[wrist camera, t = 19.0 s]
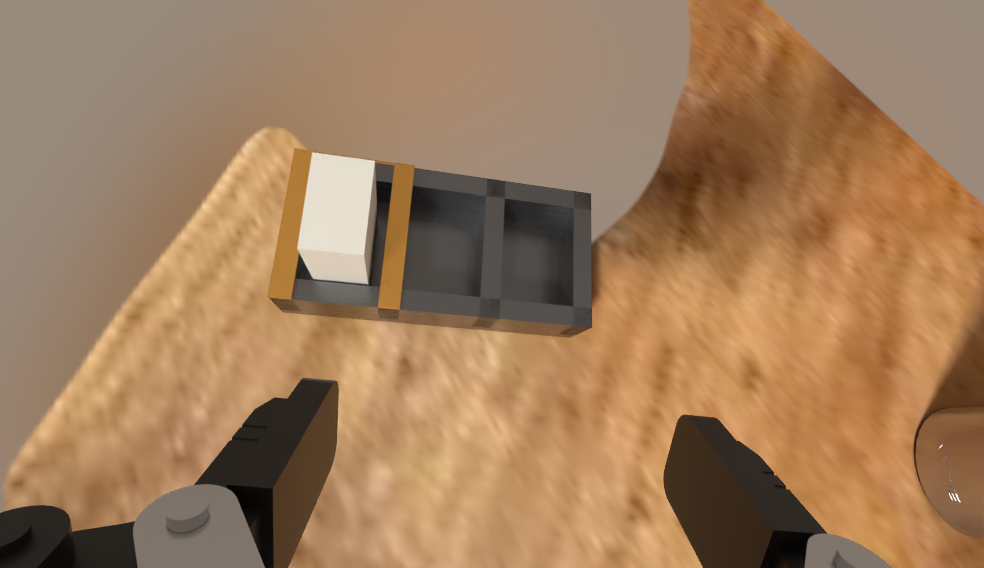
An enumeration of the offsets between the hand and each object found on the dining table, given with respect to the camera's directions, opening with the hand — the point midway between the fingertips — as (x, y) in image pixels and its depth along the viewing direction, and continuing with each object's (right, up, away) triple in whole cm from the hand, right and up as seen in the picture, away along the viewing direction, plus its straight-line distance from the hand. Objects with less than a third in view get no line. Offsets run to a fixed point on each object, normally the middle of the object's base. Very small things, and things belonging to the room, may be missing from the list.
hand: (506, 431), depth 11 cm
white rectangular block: (-9, +5, +20) cm, 22 cm away
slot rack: (-4, +5, +22) cm, 22 cm away
